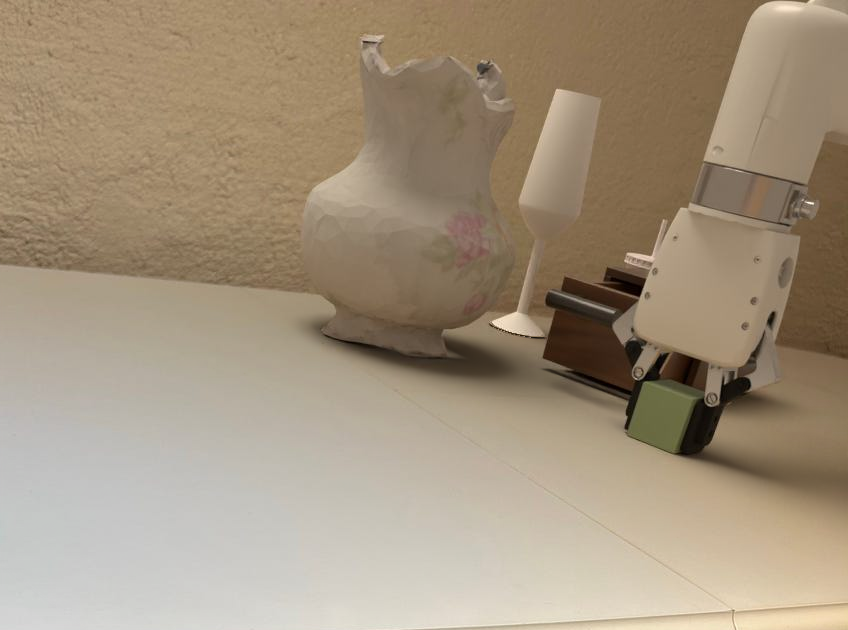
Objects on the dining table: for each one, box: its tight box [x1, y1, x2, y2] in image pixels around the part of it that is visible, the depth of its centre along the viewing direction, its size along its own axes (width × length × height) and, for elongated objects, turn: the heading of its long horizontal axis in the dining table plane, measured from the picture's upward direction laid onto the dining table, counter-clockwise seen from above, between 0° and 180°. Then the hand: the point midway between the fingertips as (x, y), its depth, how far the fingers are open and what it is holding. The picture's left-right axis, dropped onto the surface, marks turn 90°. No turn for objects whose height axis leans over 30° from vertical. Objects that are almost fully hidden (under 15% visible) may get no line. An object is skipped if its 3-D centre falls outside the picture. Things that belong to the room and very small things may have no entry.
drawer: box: [541, 275, 694, 392], centre depth 99 cm, size 19×11×8 cm, turn 137°
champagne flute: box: [491, 88, 602, 336], centre depth 112 cm, size 7×7×24 cm
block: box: [626, 379, 705, 455], centre depth 83 cm, size 4×4×4 cm
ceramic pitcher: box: [299, 34, 517, 358], centre depth 94 cm, size 22×20×25 cm
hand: (663, 437), depth 84 cm, fingers closed on block, 4 cm apart
